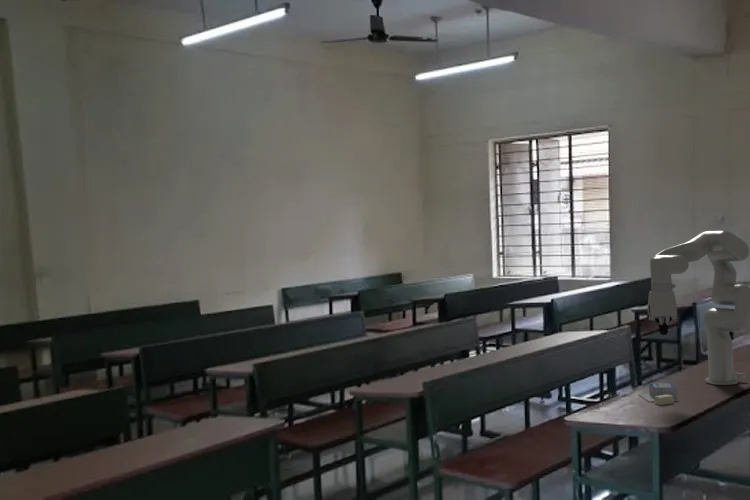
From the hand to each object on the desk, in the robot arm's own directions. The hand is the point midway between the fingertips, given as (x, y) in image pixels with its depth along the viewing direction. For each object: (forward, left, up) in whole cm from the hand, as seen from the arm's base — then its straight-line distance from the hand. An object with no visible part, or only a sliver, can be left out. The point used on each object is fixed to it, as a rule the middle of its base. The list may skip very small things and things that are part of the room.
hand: (663, 334), depth 280 cm
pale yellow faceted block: (+4, +9, -25) cm, 27 cm away
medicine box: (-3, 0, -23) cm, 23 cm away
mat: (+4, 0, -25) cm, 25 cm away
